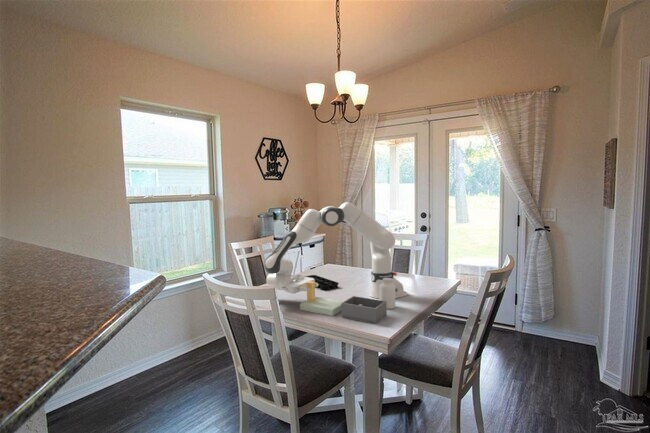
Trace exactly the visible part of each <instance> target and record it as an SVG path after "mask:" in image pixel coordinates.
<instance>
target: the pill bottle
mask: <svg viewBox="0 0 650 433" xmlns="http://www.w3.org/2000/svg"><path fill="white" fill-rule="evenodd" d="M392 283H393V279H392V278H383V283H382V284H381V285H380V299H379V300H381V301H386V310H390V309H392V310H393V309H395V307H396V298H395V285H394V284H392Z"/></svg>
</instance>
